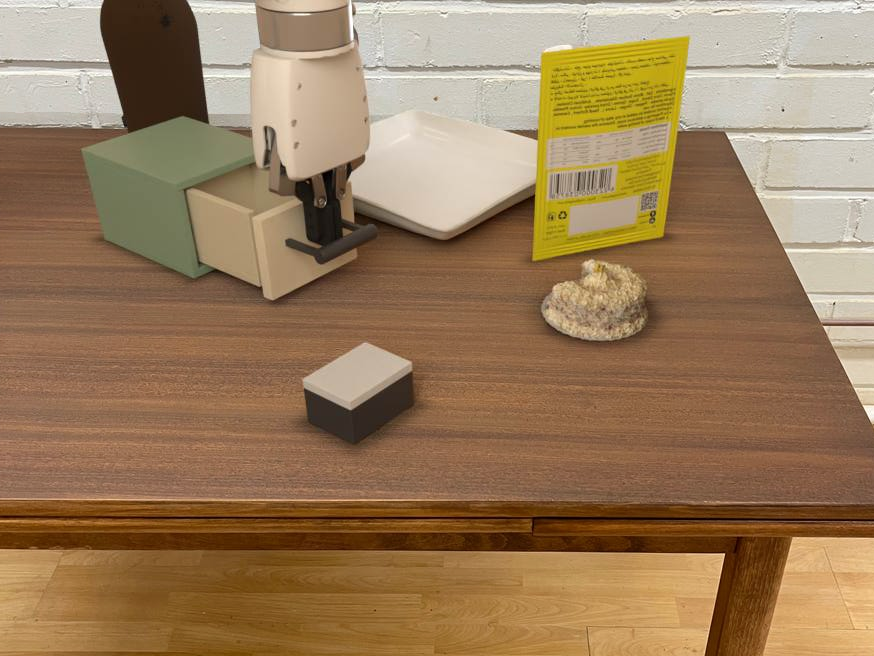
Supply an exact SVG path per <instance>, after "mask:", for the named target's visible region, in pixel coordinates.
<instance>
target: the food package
mask: <svg viewBox="0 0 874 656" xmlns="http://www.w3.org/2000/svg"><path fill="white" fill-rule="evenodd" d="M690 40H691V37H690V36H689V35H686V36H685V35H684V36H676V37H667V38H658V39H649V40H648V39H647V40H639V41H629V42H621V43H612V44H604V45H595V46H594V47H585V48H577V49H568V50H560V51H552V52H544V51H543V52H541V55H540V79H539V81H540V82H539V99H538V100H539V104H538V123H537V125H538V127H537V141H538V145H537V169H536V192H535V197H534V219H533V220H534V221H533V239H532V240H533V241H532V257H531V258H532V262H537V261H542V260H547V259H552V258H557V257H562V256H569V255H574V254H578V253H579V254H580V253H583V252H589V251H594V250H601V249H605V248H610V247H611V248H612V247H617V246H622V245H627V244H632V243H637V242H638V243H639V242H643V241H649V240H655V239H660V238H664V233H665V226H666V220H667V211H668V205H669V197H670V190H671V182H672V174H673V167H674V160H675V152H676V146H677V137H678V132H679V131H678V130H679V123H680V115H681V108H682V100H683V91H684V84H685V79H686V72H687V64H688V55H689V47H690V46H689V45H690Z"/></svg>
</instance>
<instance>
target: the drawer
mask: <svg viewBox="0 0 874 656" xmlns="http://www.w3.org/2000/svg"><path fill="white" fill-rule="evenodd" d="M269 173H270V171H263V170H261V169H259V168H258V167H257V165H256V162H254V163H251V164H248V165H246V166H243V167H240V168H238V169H235V170H233V171H230V172H227V173H225V174H222V175H219V176H217V177H214V178H212V179H209V180H206V181H204V182H201V183H198V184H196V185H193V186H191V187H188V188H185V189H183V190H184V195H185V200H186V205H187V210H188V216H189V221H190V226H191V231H192V236H193V241H194V246H195V251H196V256H197V261H200V262H202V263H204V264H207V265H209V266H211V267H214V268H216V269H215V270H218V271H221V272H223V273H226V274H228V275H231V276H233V277H235V278H237V279H239V280H242V281H244V282H246V283H249V284H251V285H254V286H256V287H258V288H260V287H262V288H261V289H262V294H263V298H265V299H268V300H270V301H275V300H277V299H278V298H280V297H283V296H284V295H287V294H289V293H291V292H293V291H295V290H296V289H299V288H301V287H302V286H305V285H306V284H308V283H311V282H312V281H314V280H316V279H318V278H320V277H322V276H324V275H326V274H328V273H330V272H332V271H334V270H336V269H338V268H340V267H342V266H344V265H346V264H348V263H349V262H352V261H354V260H356V259H357V258H358V248H359V247H361V246H363V245H365V244H367V243H369V242H371V241H374V240H375V239H377V238H378V236H379V231H378V228H377V227H376V225H375V224H373V223H368V224H365V225H361V224H358V223H356V222H355V212H354V210H353V198H352V186H351V182H350V181H347V183H346V195H345V197H344V199H343V200H340V203H341V215H342V228H343V237H341V238H339V239H337V240H335V241H333V242H331V243H329V244H327V245H324V246H321V245H318V244H315V243H313V242H310V241H309V240H308V239H307V237H306V228H305V218H304V208H303V202H301V201H299V200H297V199H296V196H279V195H276V194H273V193H271V192H270V191H269ZM307 183H308V184H309V182H308V181H307Z"/></svg>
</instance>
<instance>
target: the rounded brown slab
mask: <svg viewBox="0 0 874 656" xmlns="http://www.w3.org/2000/svg"><path fill="white" fill-rule="evenodd" d="M99 29H100V36H101V39H102V42H103V47H104V50H105V52H106V57H107V60H108V64H109V68H110V71H111V74H112V78H113V82H114V85H115V88H116V93H117V96H118V99H119V104H120V107H121V111H122V116H121V121H122V125H123V127H124V128H126V130H127V134H129V133H132V132H135V131H138V130H141V129H144V128H147V127H150V126H153V125H156V124H160V123H163V122H166V121H169V120H172V119H175V118H178V117H181V116H184V117H188V118H191V119H194V120H197V121H200V122H203V123H206V124H210V119H209V111H208V103H207V94H206V86H205V80H204V79H205V78H204V70H203V63H202V62H203V61H202V53H201V46H200V45H201V44H200V36H199V35H200V34H199V27H198V23H197V18H196V16H195V14H194V12H193V9H192V7H191V5H190V3H189V1H188V0H103V1H102V3H101V7H100V13H99Z"/></svg>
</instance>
